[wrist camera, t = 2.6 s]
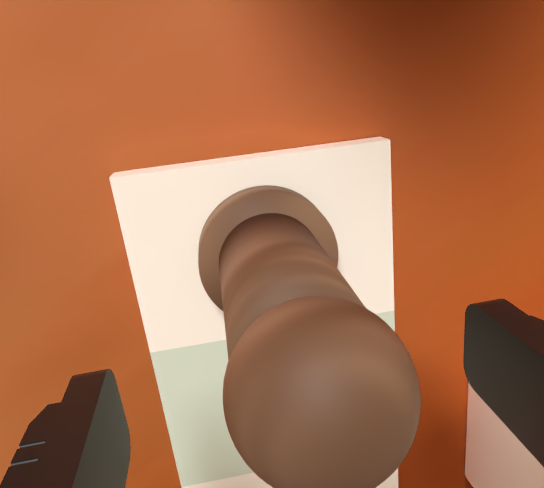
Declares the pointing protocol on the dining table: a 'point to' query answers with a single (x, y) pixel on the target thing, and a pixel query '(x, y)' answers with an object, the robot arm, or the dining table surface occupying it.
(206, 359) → the game board
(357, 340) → the pawn
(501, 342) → the robot arm
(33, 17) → the dining table surface
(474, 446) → the die
